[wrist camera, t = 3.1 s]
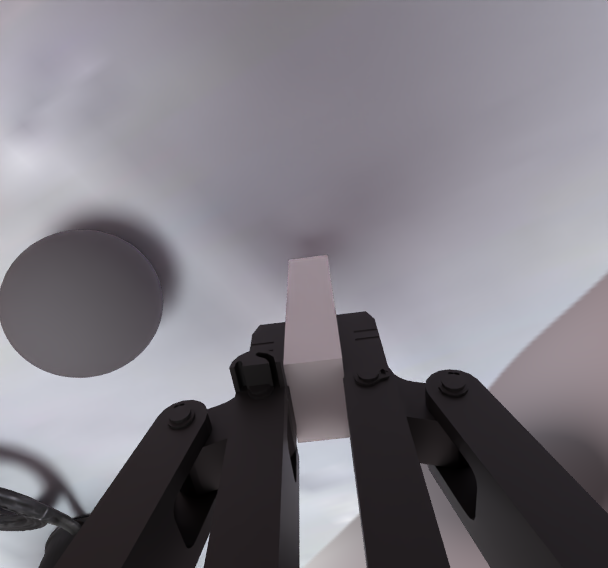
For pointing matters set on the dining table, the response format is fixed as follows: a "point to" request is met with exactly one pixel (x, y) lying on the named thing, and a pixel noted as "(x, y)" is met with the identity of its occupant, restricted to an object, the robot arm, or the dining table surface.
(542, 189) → the dining table surface
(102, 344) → the dark gray ball
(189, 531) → the robot arm
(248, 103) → the dining table surface
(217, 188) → the dining table surface
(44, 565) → the milk frother
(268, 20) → the dining table surface
